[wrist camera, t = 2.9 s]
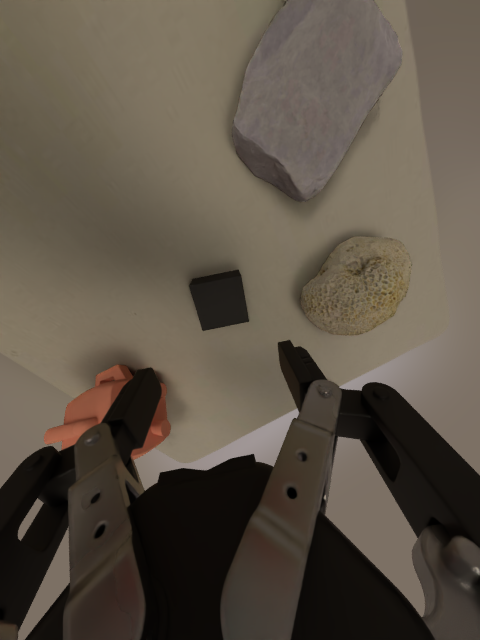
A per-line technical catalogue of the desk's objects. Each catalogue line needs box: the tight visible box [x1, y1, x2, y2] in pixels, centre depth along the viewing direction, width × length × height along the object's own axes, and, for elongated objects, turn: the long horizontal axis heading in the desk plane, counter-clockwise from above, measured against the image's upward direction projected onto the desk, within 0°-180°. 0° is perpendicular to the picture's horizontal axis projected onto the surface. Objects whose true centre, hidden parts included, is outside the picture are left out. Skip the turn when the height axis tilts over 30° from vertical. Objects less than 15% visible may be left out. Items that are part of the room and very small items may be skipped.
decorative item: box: [300, 236, 412, 335], centre depth 22 cm, size 12×9×10 cm
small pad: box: [189, 270, 249, 331], centre depth 23 cm, size 6×6×3 cm
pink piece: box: [44, 365, 171, 460], centre depth 24 cm, size 12×12×10 cm
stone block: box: [232, 0, 402, 202], centre depth 16 cm, size 12×5×10 cm
